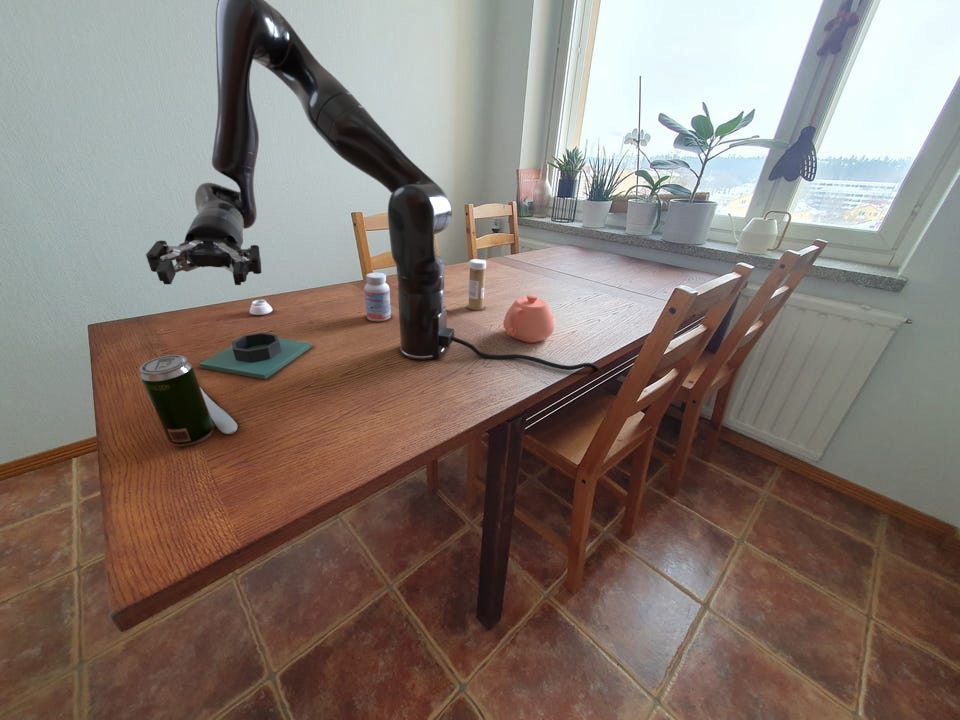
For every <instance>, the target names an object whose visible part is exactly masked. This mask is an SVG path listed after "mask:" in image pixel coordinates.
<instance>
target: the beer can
mask: <svg viewBox="0 0 960 720" xmlns="http://www.w3.org/2000/svg"><path fill="white" fill-rule="evenodd" d="M139 371H140V376H139V377H140V379H141V381H142V384H143V386H144V388H145V390H146V392H147V395H148V398H149V399H150V401H151V404H152V406H153V408H154V410H155V413H156V415H157V417H158V420H159V422H160V425H161V427H162V428H163V431H164V433H165V435H166V437H167V440H168V441H169V442H170V443H171V444H172V445H174V446H176V447H181V448H184V447H191V446H195V445H197V444H200V443H202V442H204V441H206V440H207V439H209V438H210V437H211V435H212V434H213V431H214V421H213V420H212V418H211V416H210V414H209V411H208V409H207V406H206V403H205V400H204V398H203V395H202V392H201V389H202V388H201V386H200V384H199V381H198V378H197V376H196V373H195V370H194V367H193V365H192V363H191V362H190V361H189V360H188V358H187V357H186V356H184V355H180V354H169V355H164V356H160V357H156V358H153V359H149V360H147V361H146V362H144V363H143V364H141V365H140V367H139ZM199 386H200V387H199ZM200 388H201V389H200Z"/></svg>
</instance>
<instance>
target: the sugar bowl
mask: <svg viewBox="0 0 960 720" xmlns="http://www.w3.org/2000/svg"><path fill="white" fill-rule="evenodd" d="M502 325H503V329H504V331H506V334H507V335H508V336H509V337H512V338H514V339H516V340H518V341H522V342H525V343H527V344H533V343H534V342H541V341H544V340H546V339H547V338H549V337H550V336H551V335H552V334H553V333H554V330H555V319H554V315H553V313H552V310H551V307H550V306H549V303H547V302H546V301H545V300H543V299H541V298H538V296H537V295H536V294H527V295H526V296H523V297H519V298H517V299H516V300H515V301H514V302H513V303H512V304H511V306H510V307H509V308H508V310H507V311H506V313H505V316H504V319H503V324H502Z"/></svg>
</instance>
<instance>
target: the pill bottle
mask: <svg viewBox="0 0 960 720" xmlns="http://www.w3.org/2000/svg"><path fill="white" fill-rule="evenodd" d="M365 276H366V277H365V278H366V282H367V283H366V284H365V285H364V286H363V287H364V289H363V291H364V300H365V313H366V318H367V320H369V321H371V322H385V321H388V320H389V319H390V318H391V317H392V311H391V293H390V291H391V290H390V285H389V284H388V283H387V275H386V273H383V272H369V273H367V274H366V275H365Z"/></svg>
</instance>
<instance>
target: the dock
mask: <svg viewBox="0 0 960 720" xmlns="http://www.w3.org/2000/svg"><path fill="white" fill-rule="evenodd" d="M311 348H312V343H311V342H305V341H301V340H293V339H287V338H281V337H278V335H277V334H274V333H270V332H257V333H249V334H245V335H242V336H241V337H239V338H237V339H235V340H233V341H232V342H231V346H229V347H227V348H225V349H223V350H222V351H219V352H218V353H215V354H214V355H211V356H210V357H209V358H206V359H205V360H203V361H201V362H199V363H198V364H199V367H200V368H201V369H205V370H209V371H210V370H211V371H215V372H221V373H228V374H233V375H238V376H243V377H249V378H256V379H261V380H267V379H269V378H270V377H271V376H272V375H274V374H276V373H277V372H278V371H280V370H281V369H282V368H284V367H285V366H287V365H288V364H289V363H291V362H292V361H294V360H295V359H297V358H298V357H300V356H301V355H303V354H304V353H305V352H307V351H308V350H310V349H311Z"/></svg>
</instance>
